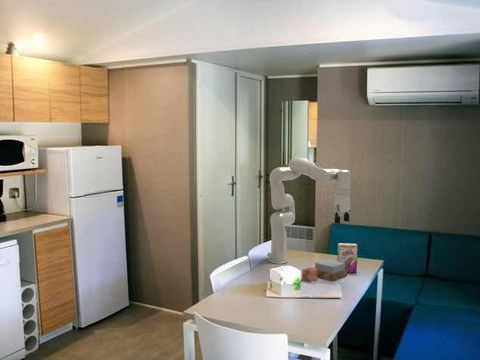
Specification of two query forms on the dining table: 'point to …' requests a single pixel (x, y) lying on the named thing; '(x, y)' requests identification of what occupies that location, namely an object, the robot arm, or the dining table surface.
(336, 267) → the grey top slab
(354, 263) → the candy bar box
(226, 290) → the dining table surface
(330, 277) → the walnut base slab
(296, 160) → the robot arm
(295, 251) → the dining table surface
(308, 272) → the brick-red cube
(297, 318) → the dining table surface
